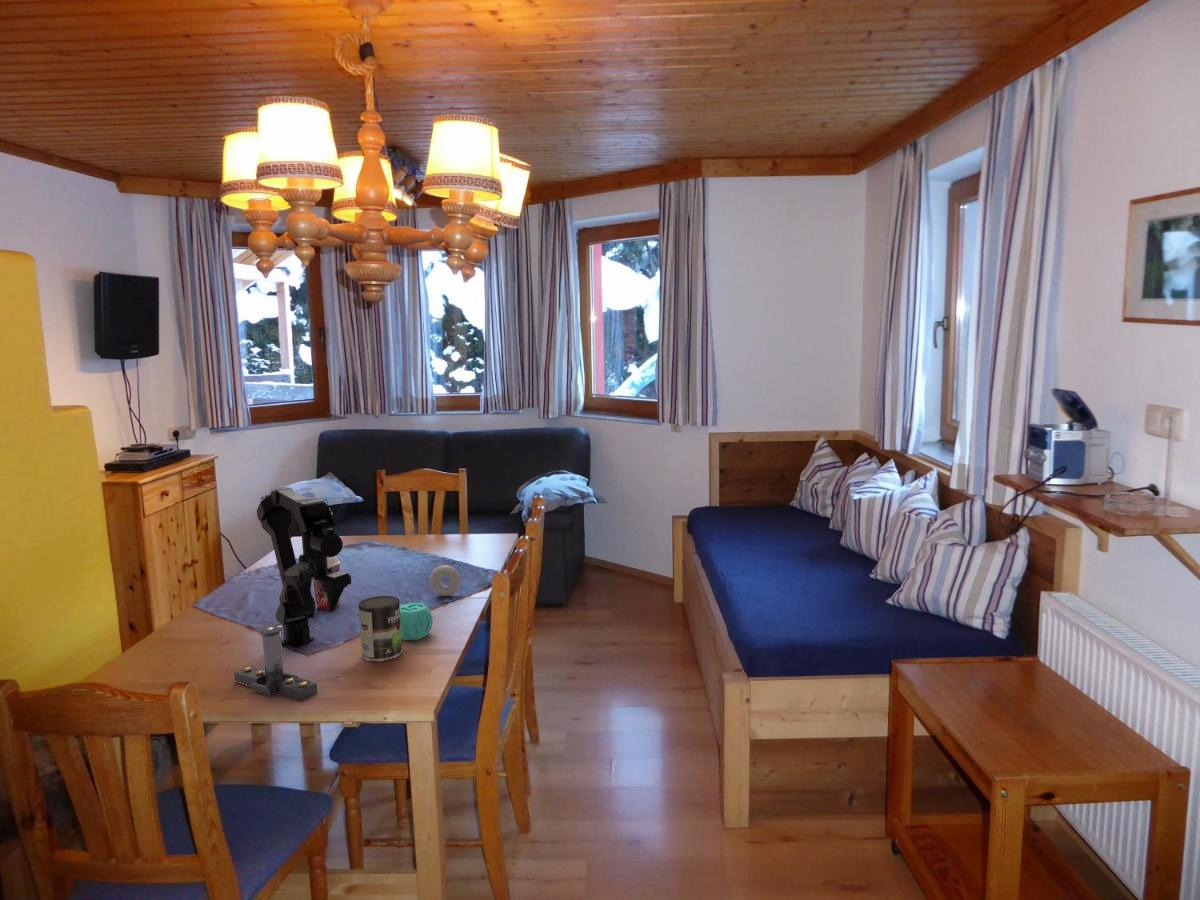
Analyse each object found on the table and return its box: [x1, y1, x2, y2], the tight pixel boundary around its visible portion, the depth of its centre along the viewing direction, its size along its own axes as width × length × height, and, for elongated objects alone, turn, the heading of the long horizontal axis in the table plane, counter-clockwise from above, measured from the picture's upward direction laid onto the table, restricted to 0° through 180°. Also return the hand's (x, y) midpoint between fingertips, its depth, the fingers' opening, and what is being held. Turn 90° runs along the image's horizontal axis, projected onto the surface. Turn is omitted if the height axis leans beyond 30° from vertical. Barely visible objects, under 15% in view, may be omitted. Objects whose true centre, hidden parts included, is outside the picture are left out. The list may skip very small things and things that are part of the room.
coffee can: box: [358, 595, 403, 662], centre depth 217 cm, size 10×10×14 cm
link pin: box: [259, 623, 285, 692], centre depth 198 cm, size 5×5×15 cm
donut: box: [429, 564, 462, 597], centre depth 264 cm, size 10×4×10 cm, turn 83°
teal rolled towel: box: [400, 602, 434, 641], centre depth 231 cm, size 8×8×8 cm
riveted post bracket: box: [233, 664, 318, 702], centre depth 199 cm, size 22×8×3 cm, turn 61°
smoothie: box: [312, 555, 341, 610], centre depth 255 cm, size 8×8×20 cm
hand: (318, 609), depth 215 cm, fingers open, 9 cm apart
